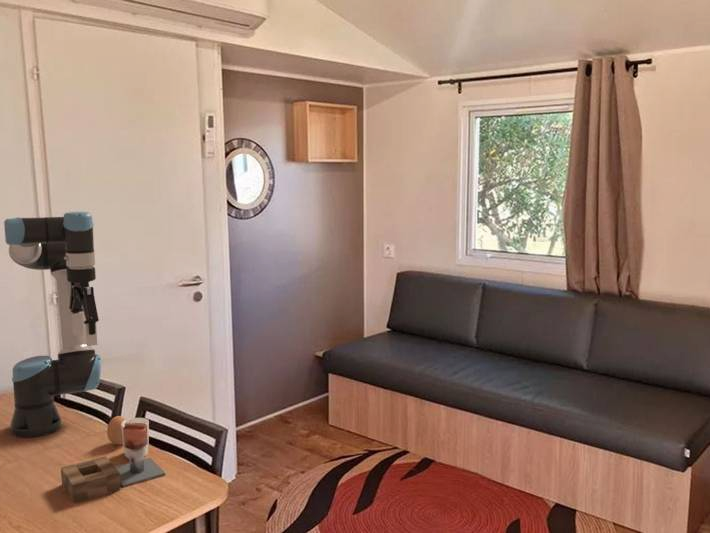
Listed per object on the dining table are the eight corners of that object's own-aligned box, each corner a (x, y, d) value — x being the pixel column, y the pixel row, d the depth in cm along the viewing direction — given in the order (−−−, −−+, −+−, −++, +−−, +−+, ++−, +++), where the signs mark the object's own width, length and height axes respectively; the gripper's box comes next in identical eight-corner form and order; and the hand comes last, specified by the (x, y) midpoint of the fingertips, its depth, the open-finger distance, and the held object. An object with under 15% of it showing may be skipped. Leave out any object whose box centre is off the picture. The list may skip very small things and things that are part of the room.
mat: (109, 470, 190) (109, 468, 190) (150, 459, 197) (150, 457, 197) (122, 487, 180) (122, 485, 180) (165, 474, 188) (165, 472, 188)
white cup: (141, 461, 196) (140, 429, 194) (117, 458, 198) (116, 426, 196) (154, 449, 204) (153, 418, 202) (131, 447, 205) (130, 416, 204)
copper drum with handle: (153, 466, 191) (151, 421, 189) (141, 477, 185) (139, 430, 183) (133, 464, 193) (131, 419, 190) (120, 474, 186) (118, 428, 184)
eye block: (61, 484, 181) (60, 467, 180) (106, 472, 189) (105, 456, 188) (73, 503, 172) (72, 485, 171) (120, 489, 179) (119, 472, 178)
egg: (123, 449, 203) (122, 421, 202) (103, 447, 205) (102, 419, 203) (134, 440, 210) (132, 413, 208) (114, 438, 211) (113, 411, 210)
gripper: (55, 262, 195) (59, 332, 198) (79, 274, 175) (83, 352, 178) (82, 260, 199) (86, 328, 203) (108, 272, 180) (111, 347, 183)
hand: (84, 339), depth 191 cm, fingers open, 13 cm apart
